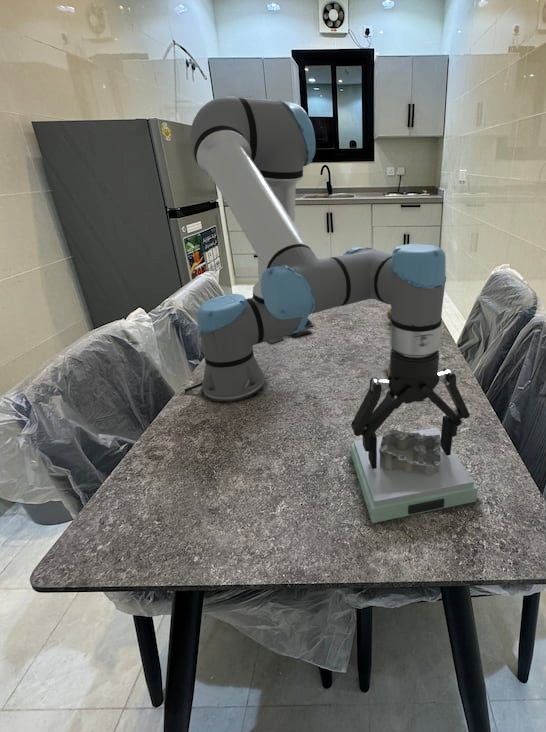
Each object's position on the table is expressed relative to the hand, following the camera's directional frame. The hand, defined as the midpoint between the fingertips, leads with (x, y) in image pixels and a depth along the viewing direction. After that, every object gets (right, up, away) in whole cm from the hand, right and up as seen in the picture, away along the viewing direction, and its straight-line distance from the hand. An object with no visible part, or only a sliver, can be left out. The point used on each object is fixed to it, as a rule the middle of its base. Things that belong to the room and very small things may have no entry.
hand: (409, 456), depth 68 cm
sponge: (+8, +24, +66) cm, 70 cm away
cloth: (-35, +23, +66) cm, 78 cm away
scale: (0, -4, +2) cm, 5 cm away
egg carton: (0, -1, 0) cm, 1 cm away
